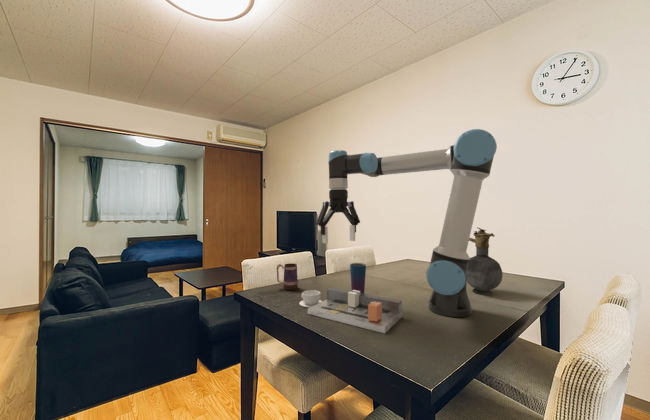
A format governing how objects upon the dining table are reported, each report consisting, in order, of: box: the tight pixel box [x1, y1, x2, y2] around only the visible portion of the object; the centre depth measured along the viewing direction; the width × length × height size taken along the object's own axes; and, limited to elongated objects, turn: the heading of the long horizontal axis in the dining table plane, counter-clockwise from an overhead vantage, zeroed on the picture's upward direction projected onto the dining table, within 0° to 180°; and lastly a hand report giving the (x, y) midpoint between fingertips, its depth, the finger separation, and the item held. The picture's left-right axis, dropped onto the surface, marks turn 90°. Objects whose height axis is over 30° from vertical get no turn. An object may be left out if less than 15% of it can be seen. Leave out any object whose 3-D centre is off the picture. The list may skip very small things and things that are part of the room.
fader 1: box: [348, 290, 360, 307], centre depth 109 cm, size 3×4×5 cm
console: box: [307, 287, 403, 334], centre depth 105 cm, size 30×16×6 cm, turn 57°
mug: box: [276, 263, 299, 291], centre depth 140 cm, size 10×7×12 cm
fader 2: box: [368, 301, 382, 322], centre depth 96 cm, size 3×4×5 cm
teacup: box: [299, 289, 323, 308], centre depth 118 cm, size 10×10×5 cm
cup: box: [349, 262, 367, 294], centre depth 123 cm, size 7×7×15 cm
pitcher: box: [466, 227, 503, 296], centre depth 134 cm, size 11×19×30 cm, turn 18°
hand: (339, 242), depth 117 cm, fingers open, 13 cm apart
